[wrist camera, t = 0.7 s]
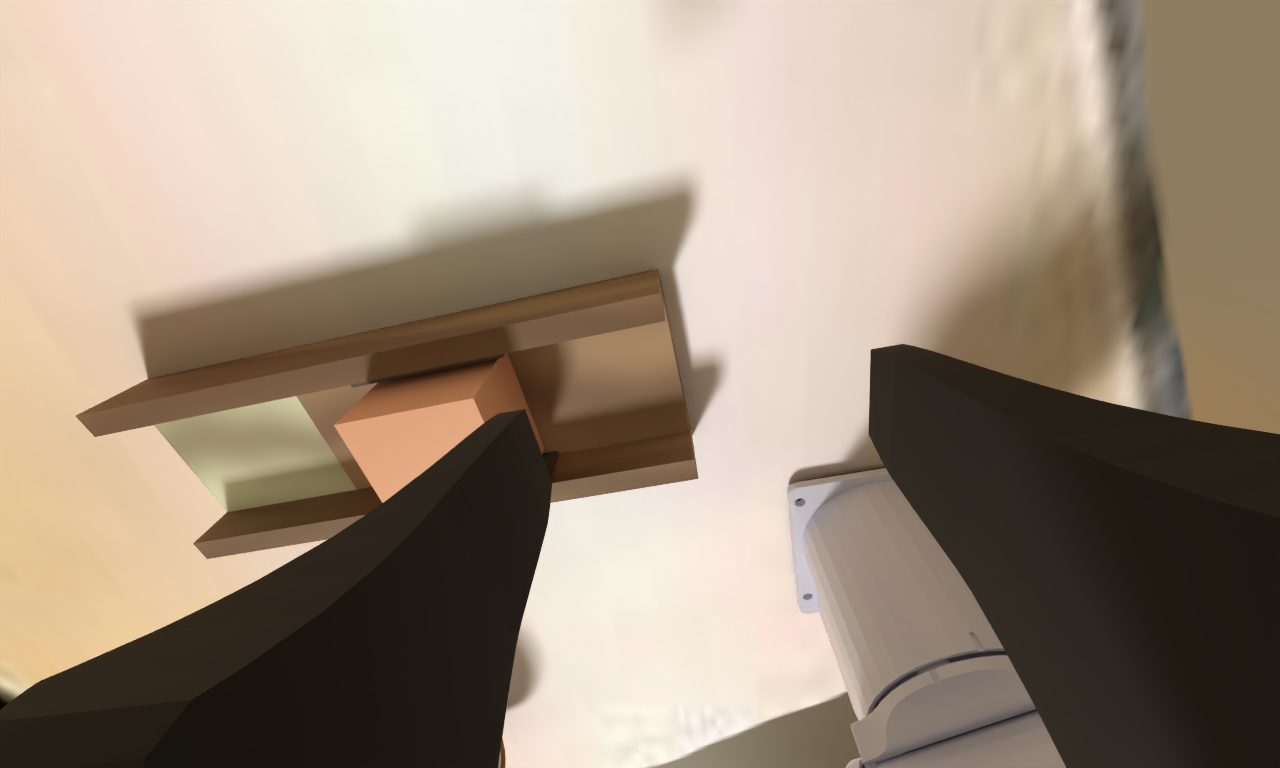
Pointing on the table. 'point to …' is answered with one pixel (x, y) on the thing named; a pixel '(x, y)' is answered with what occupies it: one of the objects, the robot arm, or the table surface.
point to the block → (426, 419)
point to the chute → (351, 366)
